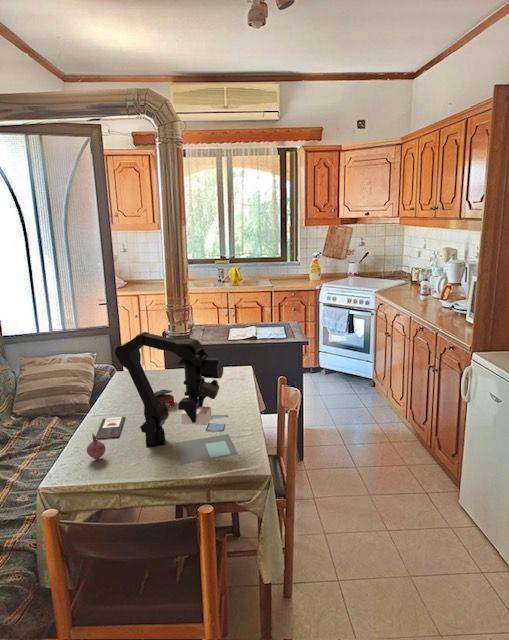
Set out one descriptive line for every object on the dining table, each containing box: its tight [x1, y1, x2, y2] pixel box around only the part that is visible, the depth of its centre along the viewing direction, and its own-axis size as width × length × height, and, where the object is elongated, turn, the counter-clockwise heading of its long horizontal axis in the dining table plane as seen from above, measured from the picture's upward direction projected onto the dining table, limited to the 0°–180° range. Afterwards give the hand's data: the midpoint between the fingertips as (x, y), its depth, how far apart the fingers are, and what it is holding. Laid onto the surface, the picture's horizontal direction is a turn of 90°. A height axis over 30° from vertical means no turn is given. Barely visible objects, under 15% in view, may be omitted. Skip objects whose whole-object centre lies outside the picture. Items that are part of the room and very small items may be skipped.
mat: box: [174, 433, 239, 465], centre depth 166 cm, size 20×16×1 cm
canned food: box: [154, 389, 175, 409], centre depth 207 cm, size 11×10×10 cm
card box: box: [180, 406, 213, 426], centre depth 164 cm, size 9×6×4 cm, turn 80°
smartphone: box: [205, 414, 229, 433], centre depth 186 cm, size 7×1×15 cm
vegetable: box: [86, 433, 107, 460], centre depth 161 cm, size 6×6×10 cm
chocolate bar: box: [95, 416, 126, 440], centre depth 186 cm, size 9×1×18 cm
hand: (196, 418), depth 164 cm, fingers closed on card box, 6 cm apart
